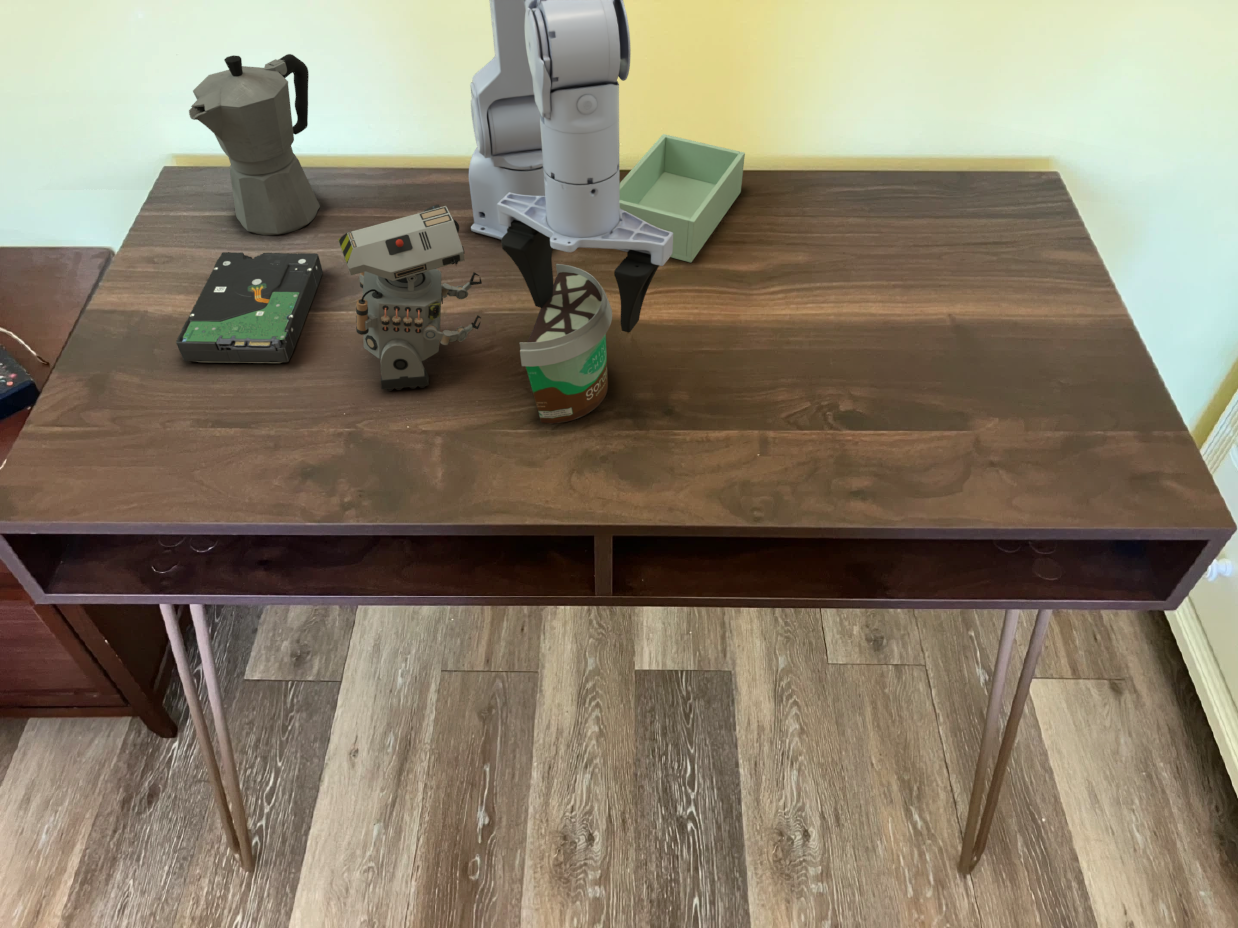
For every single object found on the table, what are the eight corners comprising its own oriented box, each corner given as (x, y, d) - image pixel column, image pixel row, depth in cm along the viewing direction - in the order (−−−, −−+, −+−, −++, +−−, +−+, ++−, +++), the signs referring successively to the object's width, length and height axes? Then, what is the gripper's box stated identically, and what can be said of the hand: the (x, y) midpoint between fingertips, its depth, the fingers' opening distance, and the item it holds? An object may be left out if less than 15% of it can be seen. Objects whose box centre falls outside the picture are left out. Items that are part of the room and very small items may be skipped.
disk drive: (227, 274, 99) (183, 364, 89) (219, 251, 97) (173, 341, 87) (325, 274, 99) (292, 364, 89) (319, 251, 97) (284, 341, 87)
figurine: (490, 383, 88) (472, 247, 77) (365, 394, 86) (329, 257, 75) (486, 323, 94) (469, 188, 83) (370, 332, 93) (337, 197, 82)
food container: (603, 441, 82) (590, 352, 75) (536, 434, 83) (517, 346, 76) (633, 351, 90) (623, 263, 83) (571, 347, 91) (557, 260, 84)
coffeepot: (265, 254, 101) (213, 93, 88) (205, 229, 105) (146, 70, 92) (362, 190, 110) (328, 35, 97) (304, 168, 114) (263, 16, 101)
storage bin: (605, 239, 104) (605, 199, 100) (661, 172, 113) (663, 133, 110) (691, 262, 101) (694, 221, 97) (740, 192, 110) (745, 152, 107)
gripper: (470, 169, 70) (489, 317, 79) (648, 212, 65) (645, 362, 75) (516, 129, 74) (529, 273, 84) (686, 167, 70) (678, 314, 80)
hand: (586, 312), depth 80 cm, fingers open, 7 cm apart
